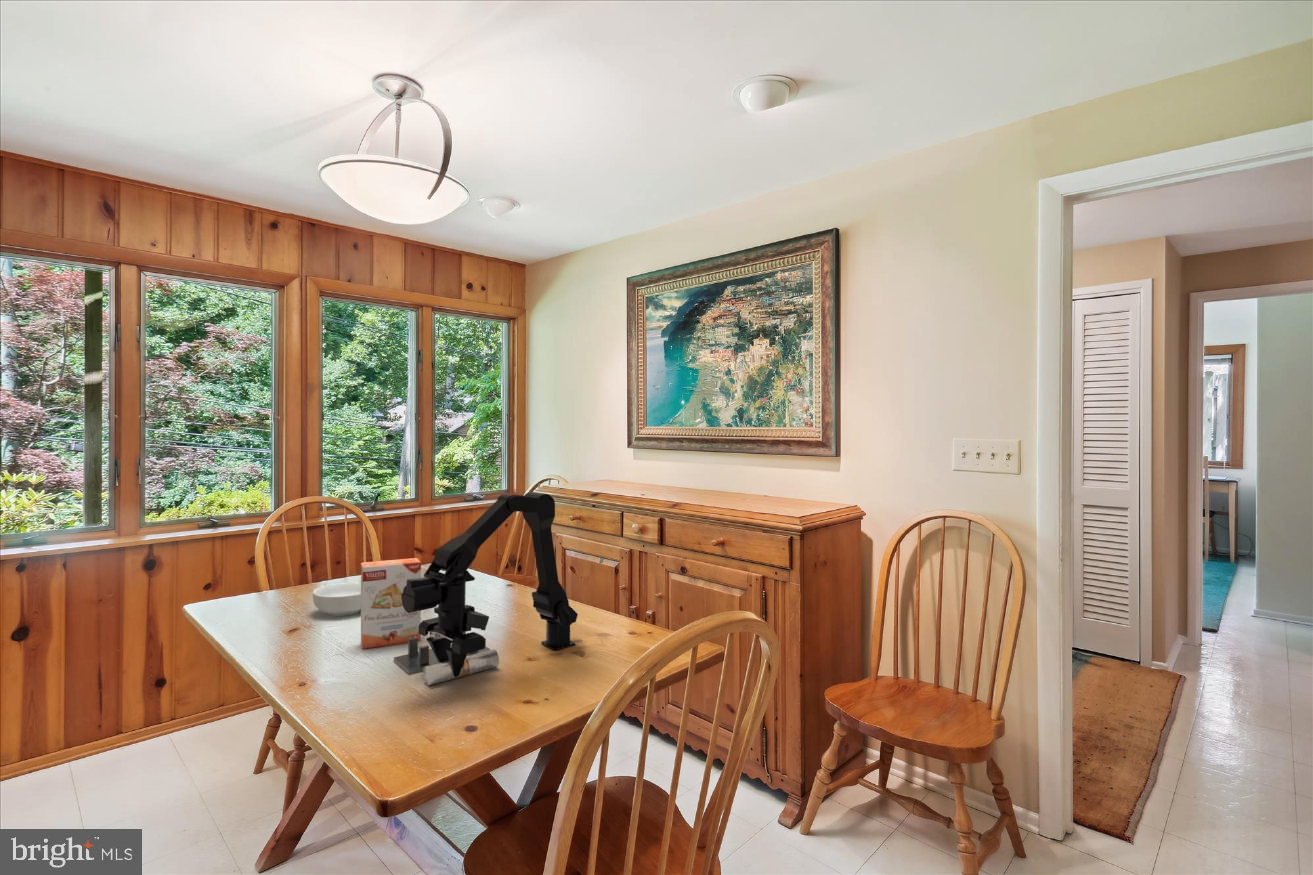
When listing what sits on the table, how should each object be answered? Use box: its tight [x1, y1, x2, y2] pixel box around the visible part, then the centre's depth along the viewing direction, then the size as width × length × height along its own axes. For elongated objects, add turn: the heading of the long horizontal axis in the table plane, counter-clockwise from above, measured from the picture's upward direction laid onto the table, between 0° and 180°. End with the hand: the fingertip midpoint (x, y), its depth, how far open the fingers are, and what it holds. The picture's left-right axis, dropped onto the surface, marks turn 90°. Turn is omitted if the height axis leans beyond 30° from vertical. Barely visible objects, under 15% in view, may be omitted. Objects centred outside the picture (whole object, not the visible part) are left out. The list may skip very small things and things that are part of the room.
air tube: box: [422, 648, 500, 687], centre depth 144 cm, size 16×4×4 cm, turn 131°
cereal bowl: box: [312, 581, 361, 617], centre depth 190 cm, size 17×17×7 cm
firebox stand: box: [393, 631, 492, 675], centre depth 155 cm, size 10×20×5 cm, turn 130°
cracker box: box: [360, 557, 422, 650], centre depth 165 cm, size 14×6×21 cm, turn 118°
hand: (450, 672), depth 142 cm, fingers open, 4 cm apart
